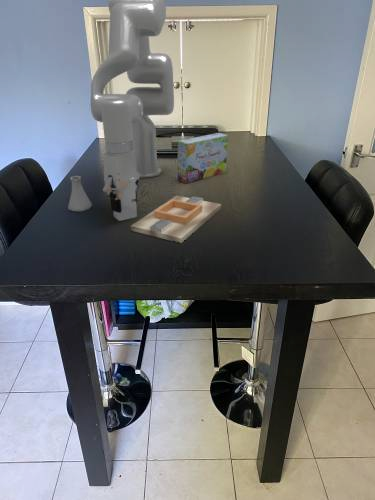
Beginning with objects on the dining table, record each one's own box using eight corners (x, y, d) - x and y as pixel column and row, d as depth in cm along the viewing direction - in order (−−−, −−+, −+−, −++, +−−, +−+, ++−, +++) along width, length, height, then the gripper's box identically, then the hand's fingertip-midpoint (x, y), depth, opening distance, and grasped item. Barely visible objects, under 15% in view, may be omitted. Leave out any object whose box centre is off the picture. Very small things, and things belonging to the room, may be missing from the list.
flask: (96, 205, 122) (92, 175, 117) (83, 213, 116) (79, 182, 111) (76, 202, 124) (72, 172, 119) (63, 210, 118) (58, 179, 113)
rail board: (131, 230, 106) (130, 219, 104) (176, 199, 126) (176, 189, 124) (181, 243, 99) (181, 231, 97) (220, 208, 119) (221, 198, 117)
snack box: (187, 184, 139) (186, 143, 132) (177, 180, 143) (176, 140, 135) (226, 172, 151) (228, 134, 144) (216, 169, 155) (218, 131, 148)
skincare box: (119, 221, 111) (115, 182, 105) (113, 216, 114) (109, 177, 108) (138, 216, 114) (135, 178, 108) (131, 211, 117) (128, 174, 111)
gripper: (126, 138, 112) (131, 195, 121) (87, 152, 99) (95, 215, 107) (148, 141, 109) (151, 199, 118) (110, 156, 95) (117, 220, 104)
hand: (124, 206), depth 112 cm, fingers closed on skincare box, 7 cm apart
